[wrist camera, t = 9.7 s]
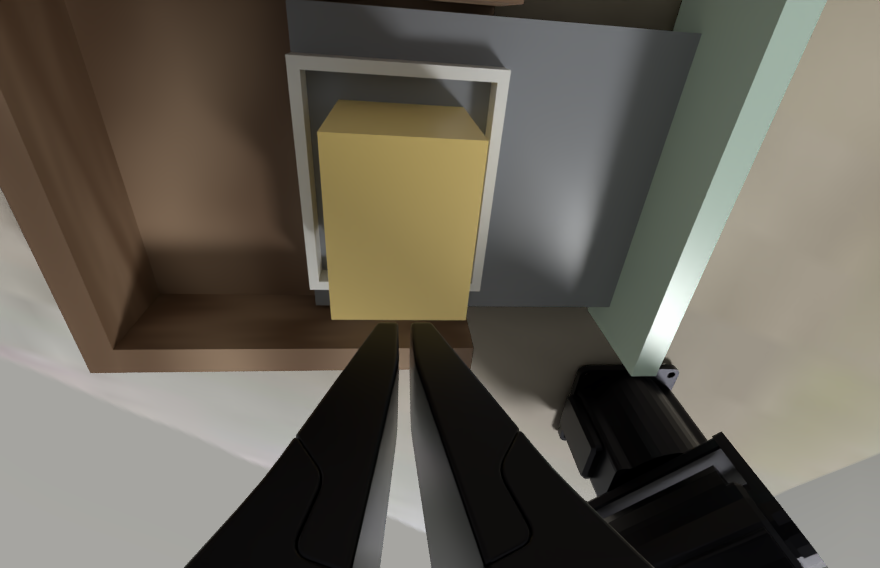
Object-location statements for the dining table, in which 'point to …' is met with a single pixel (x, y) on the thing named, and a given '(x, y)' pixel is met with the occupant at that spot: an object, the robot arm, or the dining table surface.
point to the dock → (172, 183)
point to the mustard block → (400, 209)
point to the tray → (568, 141)
